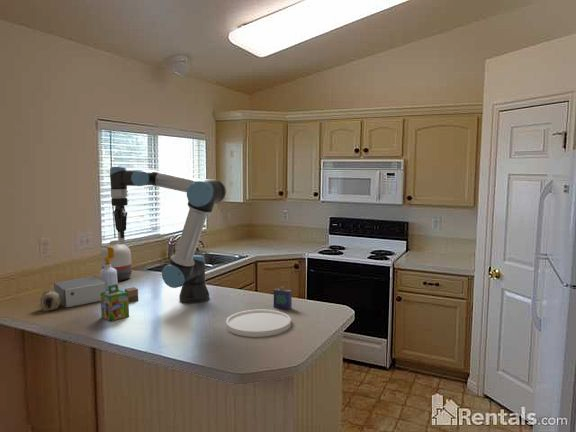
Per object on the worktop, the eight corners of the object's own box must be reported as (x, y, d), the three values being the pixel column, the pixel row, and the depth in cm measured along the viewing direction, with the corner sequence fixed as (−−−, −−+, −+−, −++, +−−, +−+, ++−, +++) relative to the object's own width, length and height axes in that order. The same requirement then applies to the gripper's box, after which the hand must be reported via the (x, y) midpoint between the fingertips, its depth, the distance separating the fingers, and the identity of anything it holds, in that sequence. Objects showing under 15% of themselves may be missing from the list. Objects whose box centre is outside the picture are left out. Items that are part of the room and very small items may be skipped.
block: (138, 300, 226) (137, 289, 225) (128, 302, 222) (128, 290, 222) (134, 298, 229) (134, 287, 229) (125, 300, 226) (124, 288, 225)
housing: (106, 299, 228) (105, 282, 227) (64, 307, 215) (63, 289, 214) (95, 292, 242) (94, 276, 241) (55, 299, 229) (53, 282, 228)
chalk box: (111, 322, 194) (109, 289, 192) (100, 317, 200) (98, 285, 198) (130, 316, 201) (128, 285, 199) (119, 312, 207) (118, 281, 205)
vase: (107, 276, 278) (105, 239, 275) (135, 275, 280) (133, 238, 277) (98, 283, 261) (96, 243, 259) (128, 282, 263) (126, 243, 260)
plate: (266, 342, 170) (266, 336, 170) (212, 329, 185) (212, 323, 185) (302, 321, 194) (302, 315, 194) (251, 310, 209) (251, 305, 208)
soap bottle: (96, 290, 245) (94, 247, 242) (109, 286, 253) (106, 244, 251) (109, 292, 242) (106, 248, 239) (121, 287, 250) (119, 245, 247)
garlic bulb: (42, 314, 213) (34, 295, 212) (60, 307, 218) (53, 288, 218) (47, 312, 206) (39, 292, 206) (65, 305, 212) (58, 286, 212)
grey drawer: (106, 299, 226) (105, 283, 225) (67, 307, 214) (65, 290, 213) (94, 292, 240) (93, 276, 239) (57, 299, 228) (55, 282, 227)
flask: (292, 308, 211) (292, 286, 210) (290, 310, 208) (289, 288, 207) (274, 306, 214) (274, 284, 213) (272, 308, 212) (272, 286, 210)
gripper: (131, 197, 217) (134, 244, 220) (121, 196, 227) (124, 241, 229) (116, 198, 212) (118, 246, 215) (107, 197, 222) (109, 243, 225)
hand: (121, 244), depth 222 cm, fingers closed
